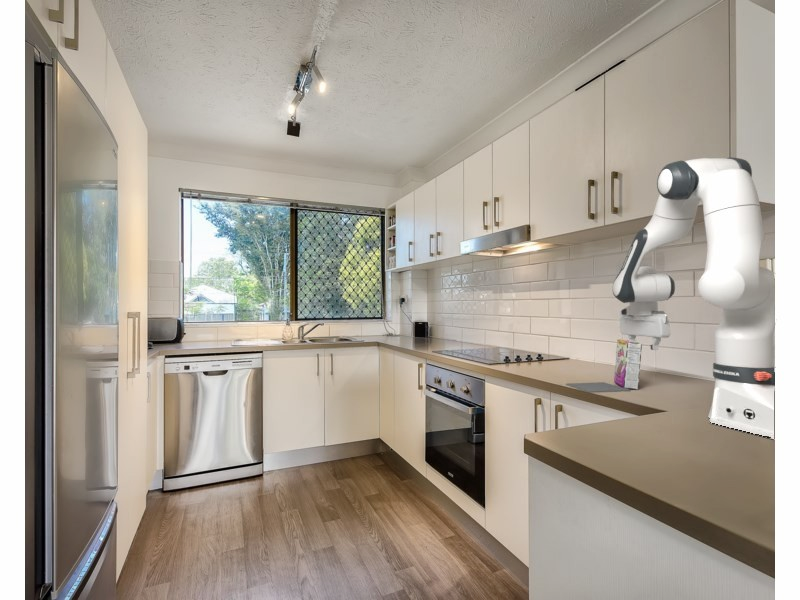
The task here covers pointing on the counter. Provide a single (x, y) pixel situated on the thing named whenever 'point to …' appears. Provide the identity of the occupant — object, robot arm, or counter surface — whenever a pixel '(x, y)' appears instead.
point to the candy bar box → (628, 363)
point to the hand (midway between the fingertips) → (644, 348)
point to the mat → (597, 387)
